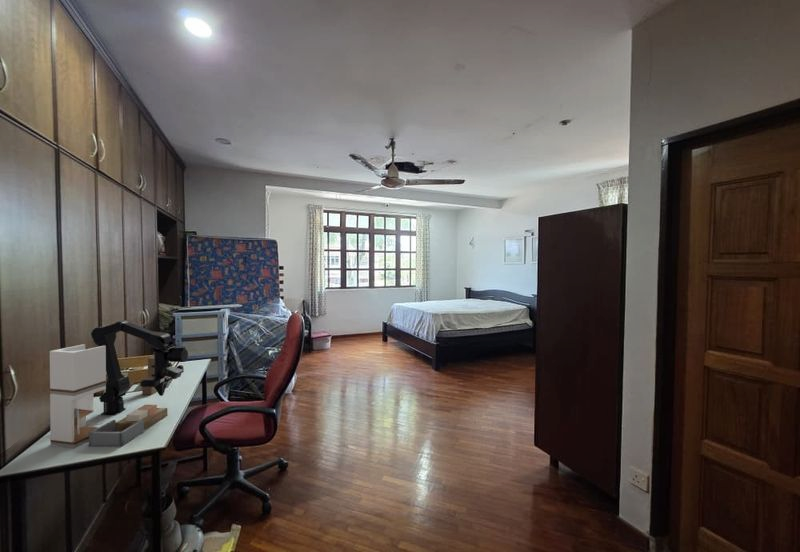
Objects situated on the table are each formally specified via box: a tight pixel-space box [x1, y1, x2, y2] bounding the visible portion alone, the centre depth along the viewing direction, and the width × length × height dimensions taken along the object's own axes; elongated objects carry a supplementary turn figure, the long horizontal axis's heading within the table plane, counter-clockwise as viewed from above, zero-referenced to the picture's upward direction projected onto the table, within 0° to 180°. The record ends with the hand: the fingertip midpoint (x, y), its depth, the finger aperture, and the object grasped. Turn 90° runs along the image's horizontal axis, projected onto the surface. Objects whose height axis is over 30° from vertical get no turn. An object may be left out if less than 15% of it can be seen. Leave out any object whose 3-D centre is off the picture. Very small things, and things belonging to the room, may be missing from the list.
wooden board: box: [116, 407, 168, 432], centre depth 144 cm, size 11×15×4 cm
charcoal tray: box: [88, 419, 145, 448], centre depth 131 cm, size 12×11×5 cm
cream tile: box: [125, 409, 148, 421], centre depth 141 cm, size 5×5×2 cm
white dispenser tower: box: [49, 343, 107, 449], centre depth 130 cm, size 11×11×35 cm
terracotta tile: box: [136, 404, 158, 415], centre depth 147 cm, size 5×5×2 cm
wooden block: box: [141, 355, 158, 396], centre depth 180 cm, size 9×4×18 cm, turn 6°
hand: (161, 395), depth 156 cm, fingers closed
